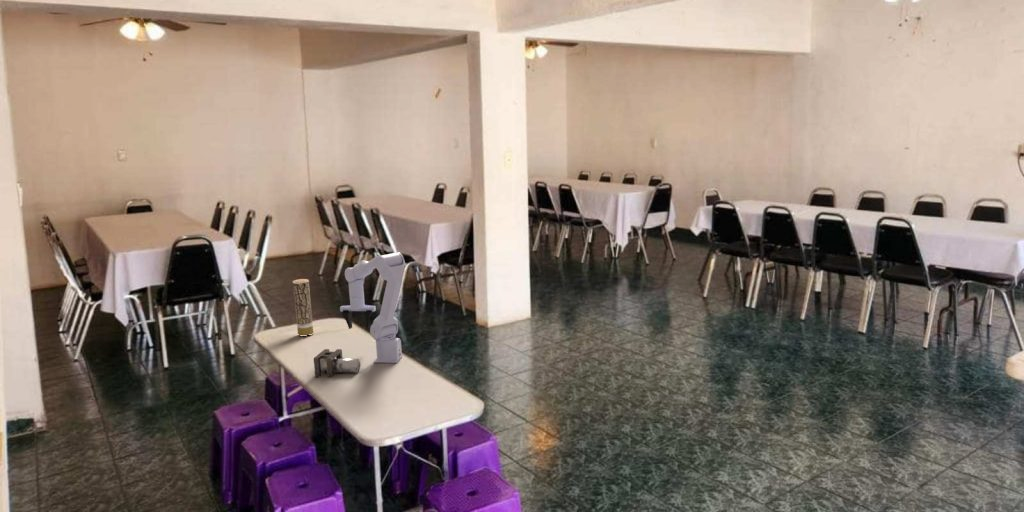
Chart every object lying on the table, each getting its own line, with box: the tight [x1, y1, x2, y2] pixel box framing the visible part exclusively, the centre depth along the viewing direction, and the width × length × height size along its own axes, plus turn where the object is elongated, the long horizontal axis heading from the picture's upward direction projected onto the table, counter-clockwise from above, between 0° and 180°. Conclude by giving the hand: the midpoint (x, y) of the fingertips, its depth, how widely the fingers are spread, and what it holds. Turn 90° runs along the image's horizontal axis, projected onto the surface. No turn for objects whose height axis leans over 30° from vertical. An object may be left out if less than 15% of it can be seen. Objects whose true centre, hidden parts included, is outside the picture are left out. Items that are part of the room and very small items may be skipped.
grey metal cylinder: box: [320, 357, 361, 374], centre depth 269 cm, size 15×6×5 cm, turn 82°
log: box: [292, 278, 314, 336], centre depth 318 cm, size 7×7×25 cm
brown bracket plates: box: [313, 348, 344, 379], centre depth 270 cm, size 7×11×7 cm, turn 172°
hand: (359, 328), depth 292 cm, fingers open, 7 cm apart
